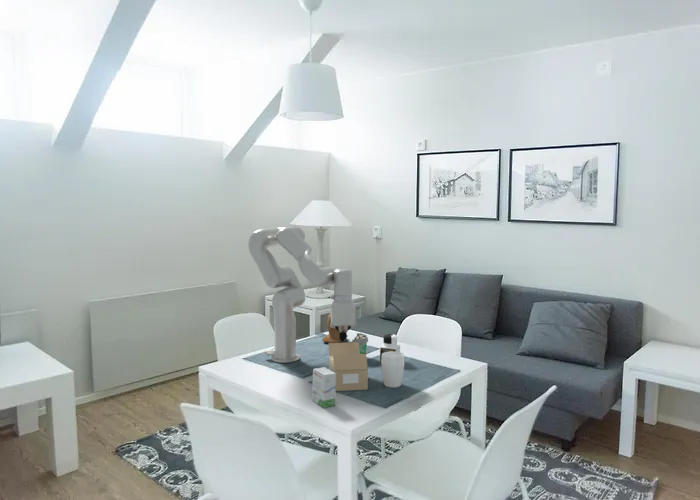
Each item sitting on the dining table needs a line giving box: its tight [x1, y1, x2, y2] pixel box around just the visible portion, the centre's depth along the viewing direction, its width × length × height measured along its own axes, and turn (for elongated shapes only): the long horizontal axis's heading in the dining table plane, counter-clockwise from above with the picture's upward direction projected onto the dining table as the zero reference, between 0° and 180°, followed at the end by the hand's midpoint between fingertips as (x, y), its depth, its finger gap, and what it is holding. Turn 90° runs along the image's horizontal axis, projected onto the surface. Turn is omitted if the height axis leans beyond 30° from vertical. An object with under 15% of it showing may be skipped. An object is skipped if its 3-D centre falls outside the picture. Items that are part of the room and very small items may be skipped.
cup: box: [380, 351, 405, 389], centre depth 209 cm, size 9×9×12 cm
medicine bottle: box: [379, 333, 401, 363], centre depth 238 cm, size 7×7×12 cm
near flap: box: [333, 353, 368, 371], centre depth 203 cm, size 13×6×1 cm
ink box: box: [311, 366, 337, 409], centre depth 190 cm, size 9×5×12 cm, turn 33°
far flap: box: [328, 341, 360, 356], centre depth 223 cm, size 13×6×1 cm
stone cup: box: [321, 312, 349, 344], centre depth 271 cm, size 15×12×15 cm
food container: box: [351, 332, 369, 355], centre depth 243 cm, size 12×6×10 cm, turn 168°
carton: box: [328, 356, 369, 392], centre depth 212 cm, size 13×18×8 cm
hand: (342, 341), depth 227 cm, fingers closed
